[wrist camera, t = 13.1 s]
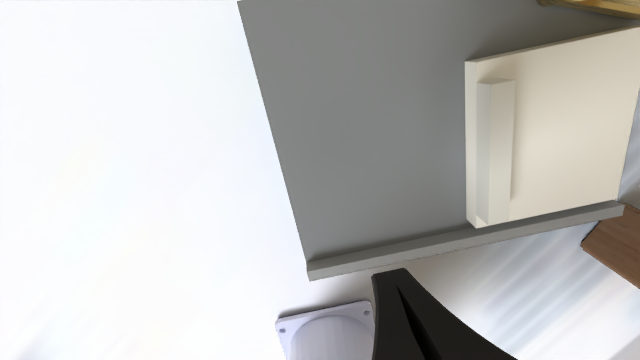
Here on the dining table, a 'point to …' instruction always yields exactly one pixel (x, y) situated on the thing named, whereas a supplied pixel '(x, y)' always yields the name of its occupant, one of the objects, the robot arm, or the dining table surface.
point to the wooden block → (618, 244)
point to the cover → (549, 125)
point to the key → (600, 6)
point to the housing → (391, 119)
